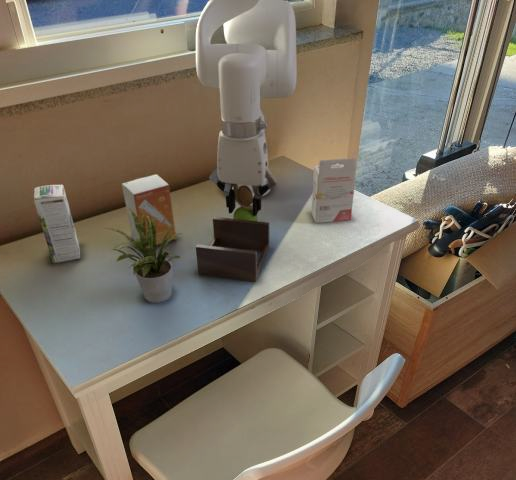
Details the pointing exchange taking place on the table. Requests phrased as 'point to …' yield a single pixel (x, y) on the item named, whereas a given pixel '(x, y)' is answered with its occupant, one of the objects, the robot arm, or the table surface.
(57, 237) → the syrup box
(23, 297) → the table surface
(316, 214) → the ink cartridge box
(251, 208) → the snail figurine
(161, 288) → the house plant
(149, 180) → the small box
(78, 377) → the table surface
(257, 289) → the table surface
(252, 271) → the frame
